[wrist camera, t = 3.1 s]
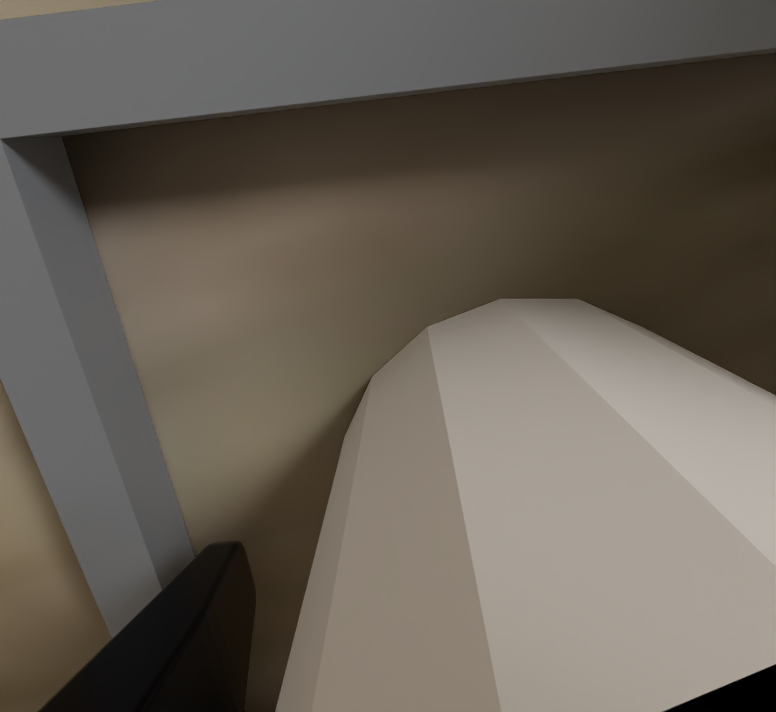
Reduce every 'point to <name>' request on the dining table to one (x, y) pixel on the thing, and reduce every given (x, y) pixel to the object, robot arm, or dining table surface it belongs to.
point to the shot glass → (545, 528)
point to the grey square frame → (216, 100)
